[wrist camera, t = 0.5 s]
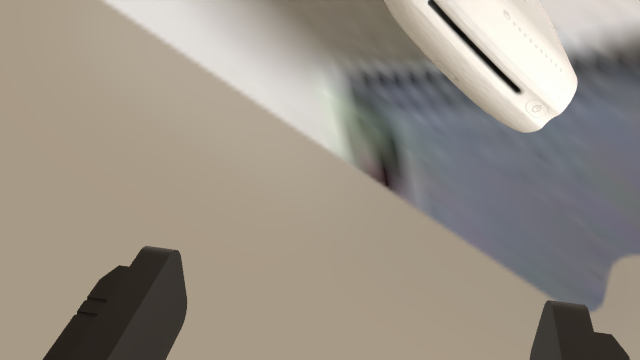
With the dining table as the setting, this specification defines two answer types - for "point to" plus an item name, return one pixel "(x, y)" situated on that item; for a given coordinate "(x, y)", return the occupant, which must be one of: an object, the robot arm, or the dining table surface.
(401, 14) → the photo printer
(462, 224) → the dining table surface
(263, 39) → the dining table surface
